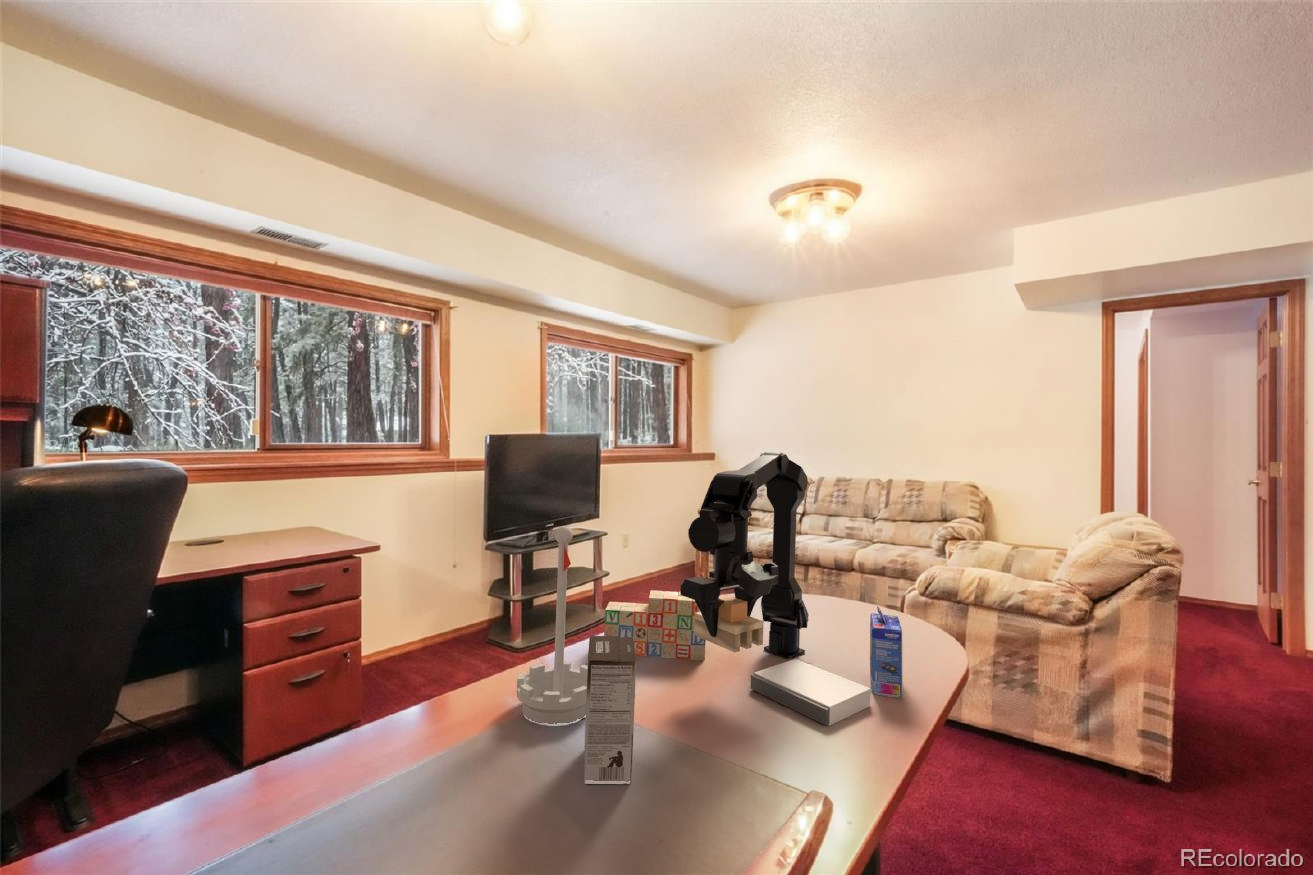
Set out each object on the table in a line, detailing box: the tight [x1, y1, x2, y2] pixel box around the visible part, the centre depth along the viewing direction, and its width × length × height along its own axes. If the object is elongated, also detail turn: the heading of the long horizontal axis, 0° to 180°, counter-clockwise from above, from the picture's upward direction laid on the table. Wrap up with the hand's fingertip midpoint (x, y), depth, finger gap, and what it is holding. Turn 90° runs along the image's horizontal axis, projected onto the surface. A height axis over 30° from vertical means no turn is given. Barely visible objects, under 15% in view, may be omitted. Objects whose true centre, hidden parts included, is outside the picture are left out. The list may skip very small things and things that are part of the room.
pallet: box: [694, 612, 765, 653], centre depth 99 cm, size 7×10×4 cm
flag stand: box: [516, 525, 588, 724], centre depth 91 cm, size 13×13×30 cm
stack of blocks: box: [603, 589, 707, 661], centre depth 119 cm, size 21×6×12 cm, turn 85°
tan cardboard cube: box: [718, 594, 747, 623], centre depth 99 cm, size 4×5×3 cm
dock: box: [749, 658, 872, 727], centre depth 99 cm, size 13×16×3 cm
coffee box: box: [583, 635, 637, 782], centre depth 76 cm, size 9×6×16 cm
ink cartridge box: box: [869, 605, 904, 699], centre depth 105 cm, size 10×6×14 cm, turn 161°
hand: (728, 632), depth 99 cm, fingers closed on pallet, 7 cm apart
